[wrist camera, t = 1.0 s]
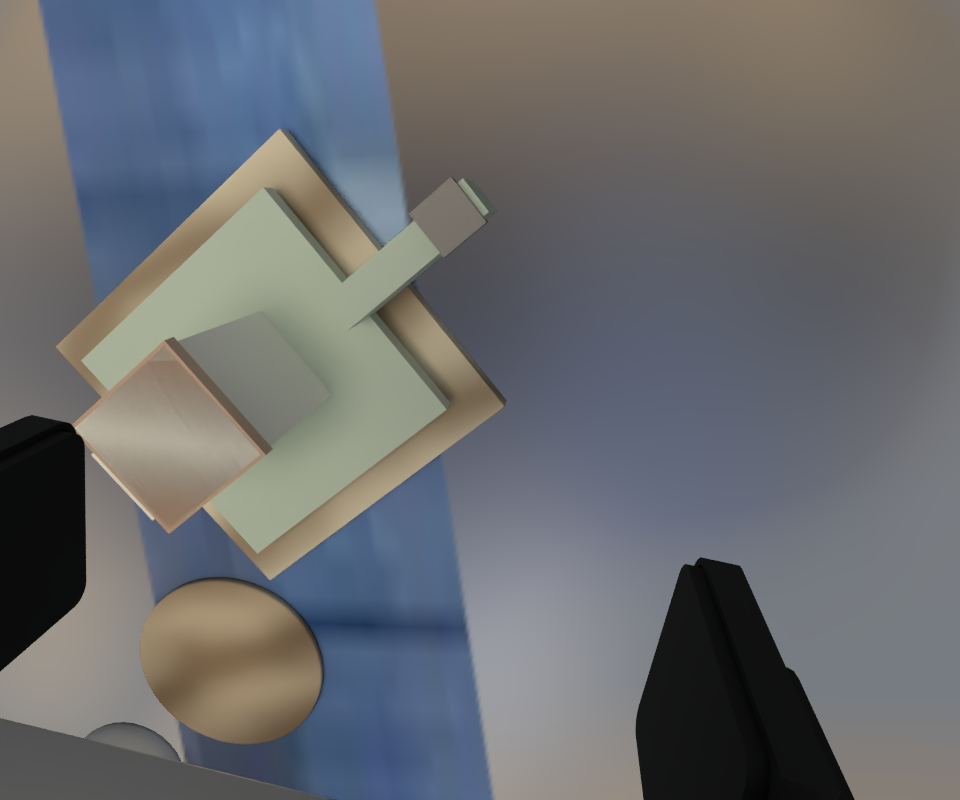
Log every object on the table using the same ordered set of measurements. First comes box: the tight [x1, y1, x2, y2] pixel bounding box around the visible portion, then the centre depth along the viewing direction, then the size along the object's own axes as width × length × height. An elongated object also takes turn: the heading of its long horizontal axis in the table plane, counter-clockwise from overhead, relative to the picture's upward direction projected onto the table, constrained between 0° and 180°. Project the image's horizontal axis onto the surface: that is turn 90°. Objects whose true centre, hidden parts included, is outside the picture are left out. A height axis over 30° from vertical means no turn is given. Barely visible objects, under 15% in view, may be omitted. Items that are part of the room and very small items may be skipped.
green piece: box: [81, 177, 497, 554], centre depth 35 cm, size 14×22×5 cm, turn 129°
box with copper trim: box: [72, 311, 332, 533], centre depth 32 cm, size 6×8×9 cm
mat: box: [140, 578, 323, 744], centre depth 45 cm, size 12×12×1 cm
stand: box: [56, 129, 506, 580], centre depth 39 cm, size 18×18×2 cm
